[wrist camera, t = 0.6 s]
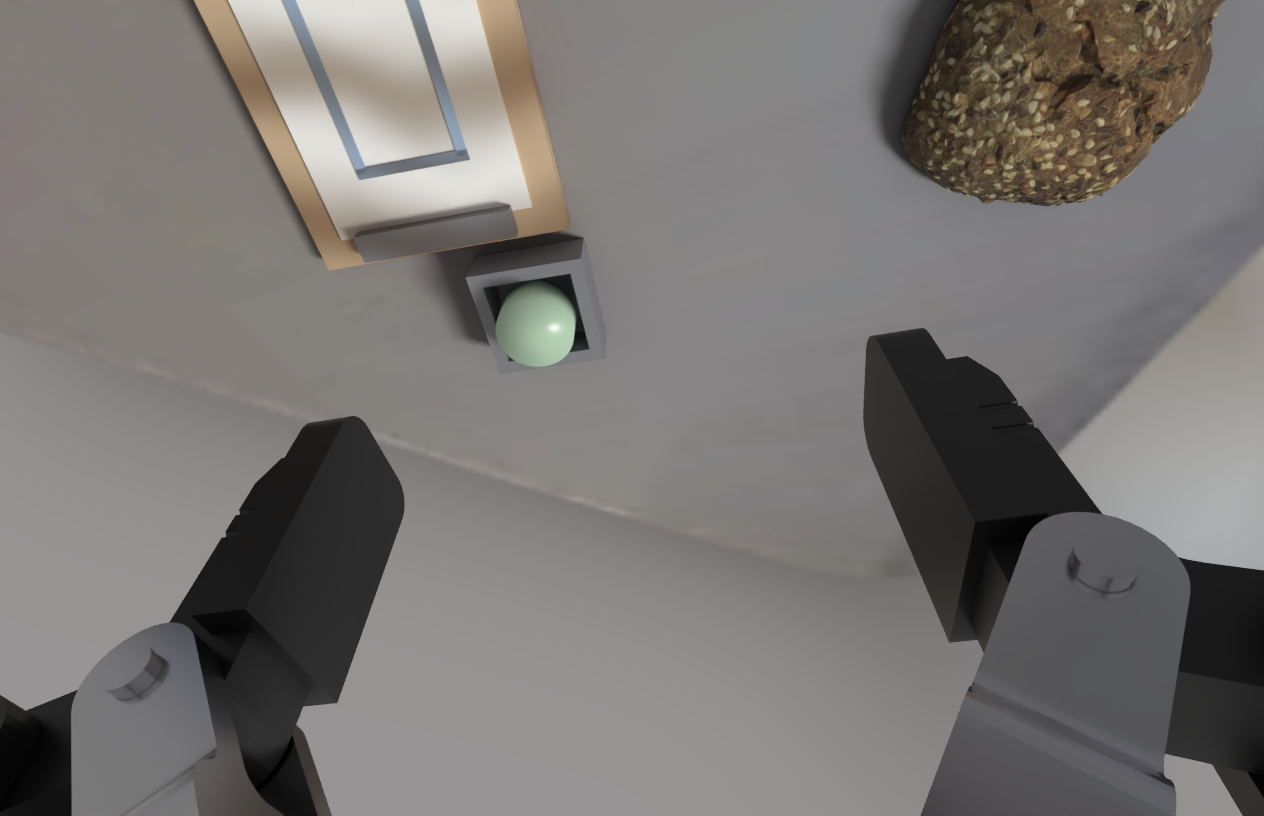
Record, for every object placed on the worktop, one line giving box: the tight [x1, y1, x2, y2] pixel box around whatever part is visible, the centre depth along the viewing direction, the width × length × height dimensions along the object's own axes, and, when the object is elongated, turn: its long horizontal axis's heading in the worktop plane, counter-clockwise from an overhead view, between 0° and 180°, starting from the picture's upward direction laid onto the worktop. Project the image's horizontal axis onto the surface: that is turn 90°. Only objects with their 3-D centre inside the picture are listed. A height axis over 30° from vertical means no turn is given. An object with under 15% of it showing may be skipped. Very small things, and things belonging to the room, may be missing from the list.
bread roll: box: [902, 0, 1225, 206], centre depth 28 cm, size 13×12×5 cm
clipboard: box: [194, 0, 570, 270], centre depth 29 cm, size 16×13×2 cm
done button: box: [495, 281, 576, 367], centre depth 34 cm, size 4×4×2 cm
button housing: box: [466, 238, 606, 374], centre depth 35 cm, size 6×6×2 cm
